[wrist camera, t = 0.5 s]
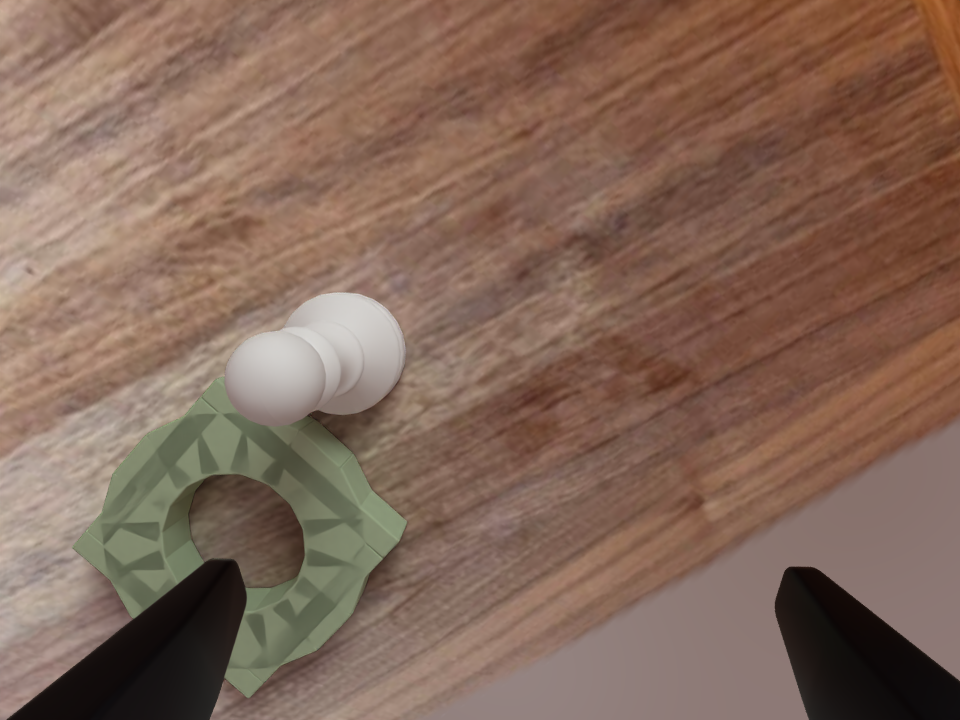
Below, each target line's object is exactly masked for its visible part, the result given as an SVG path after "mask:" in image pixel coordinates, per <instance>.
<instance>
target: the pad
mask: <svg viewBox="0 0 960 720" xmlns="http://www.w3.org/2000/svg"><path fill="white" fill-rule="evenodd" d="M224 381H225V376H224V377H221V378H218V379H215V381H214V382H213V383H212V384H211V385H210V386H209V388H208V389H207V390H206V391H205V392H204V393H203V395H202V397H200V398H199V399H198V400H197V401H196V402H195V404H194V405H193V406H192V407H191V408H190V409H189V411H188V412H187V413H186V414H185V415H184V416H183V417H181V418H179V419H177V420H175V421H173V422H170V423H168V424H166V425H164V426H162V427H160V428H158V429H156V430H154V431H151V432H149V433H148V434H147V435H145V436H144V437H143V438H142V440H141V441H140V442H139V443H138V444H137V446H136V447H135V448H134V449H133V450H132V451H131V453H130V454H129V455H128V456H127V457H126V459H125V460H124V461H123V462H122V463H121V464H120V466H119V467H118V468H117V469H116V470H115V472H114V473H113V474H112V478H111V481H110V485H109V488H108V492H107V496H106V499H105V503H104V506H103V510H102V513H101V514H100V515H99V516H98V517H97V518H96V520H95V521H94V522H93V523H92V524H91V525H90V527H89V528H88V529H87V531H85V533H84V534H83V535H82V536H81V537H80V538H79V540H78V541H77V542H76V543H75V544H74V545H73V547H72V548H73V549H74V550H75V551H76V552H78V553H79V554H80V555H81V556H82V557H83V558H85V559H86V560H87V561H88V562H89V563H90V564H92V565H93V566H94V567H95V568H96V569H97V570H99V571H100V572H101V573H102V574H103V575H104V576H106V577H107V578H108V579H109V580H110V581H111V582H112V584H113V586H114V588H115V590H116V591H117V593H118V595H119V597H120V599H121V600H122V602H123V604H124V606H125V608H126V609H127V611H128V613H129V615H130V617H132V618H133V619H134V618H135V617H137V616H138V615H139V614H140V613H142V612H143V611H144V610H145V609H147V608H148V607H149V606H150V605H152V604H153V603H154V602H155V601H157V600H158V599H159V598H161V597H162V596H163V595H164V594H166V593H167V592H168V591H169V590H171V589H172V588H173V587H174V586H176V585H177V584H178V583H179V582H181V581H182V580H183V579H185V578H186V577H187V576H188V575H190V574H191V573H192V572H193V571H195V570H196V569H197V568H198V567H200V566H201V565H202V564H203V563H204V562H203V560H202V558H201V556H200V554H199V552H198V551H197V549H196V547H195V545H194V543H193V541H192V539H191V535H190V526H189V517H188V513H189V510H190V507H191V503H192V500H193V497H194V494H195V490H196V489H197V488H198V487H199V486H200V485H201V483H202V482H203V481H204V480H205V479H206V478H208V477H210V476H212V475H243V476H246V477H248V478H251V479H254V480H256V481H259V482H262V483H265V484H267V485H269V486H270V487H271V488H272V489H273V490H274V491H275V492H277V493H278V494H279V495H280V496H281V497H282V498H283V499H284V500H286V501H287V502H288V503H289V504H290V506H291V508H292V510H293V512H294V513H295V515H296V517H297V519H298V521H299V523H300V525H301V527H302V529H303V538H304V550H305V557H304V560H303V563H302V566H301V569H300V572H299V574H298V575H297V576H296V577H295V578H294V579H291V580H289V581H287V582H284V583H282V584H280V585H277V586H275V587H273V588H246V587H245V588H246V592H247V603H246V608H245V611H244V614H243V618H242V621H241V624H240V628H239V631H238V634H237V638H236V641H235V644H234V647H233V651H232V654H231V657H230V661H229V664H228V667H227V670H226V674H225V677H224V678H225V679H226V680H227V681H228V682H230V683H231V684H232V685H233V686H234V687H235V688H237V689H238V690H239V691H240V692H241V693H242V694H244V695H245V696H246V697H247V698H250V697H251V696H252V695H253V694H254V693H255V692H256V691H257V690H258V689H259V688H260V687H261V686H262V685H263V684H264V682H266V681H267V680H268V679H269V677H270V676H271V675H272V674H273V673H274V672H275V671H276V670H277V669H278V668H279V667H280V666H281V665H284V664H286V663H289V662H291V661H293V660H296V659H298V658H301V657H303V656H306V655H308V654H310V653H313V652H315V651H317V650H318V649H320V648H321V647H322V646H323V645H324V643H325V642H326V641H327V640H328V639H329V638H330V637H331V636H332V635H333V634H334V633H335V632H336V631H337V630H338V629H339V628H340V627H341V626H342V625H343V624H344V623H345V622H346V621H347V620H348V619H349V618H350V617H351V615H352V614H353V612H354V610H355V608H356V606H357V604H358V602H359V599H360V597H361V595H362V593H363V591H364V589H365V586H366V583H367V581H368V578H369V575H370V572H371V571H372V570H373V569H374V568H375V567H376V566H377V565H378V564H379V563H380V562H381V561H382V560H383V558H384V557H385V556H386V555H387V554H388V553H389V552H390V551H391V550H392V549H393V548H394V547H395V546H396V545H397V544H398V543H399V541H400V539H401V536H402V534H403V532H404V529H405V527H406V525H407V521H406V520H405V519H404V518H402V517H401V516H400V515H399V514H398V513H397V512H396V511H395V510H394V509H392V508H391V507H390V506H389V505H388V504H387V503H386V502H385V501H383V500H382V499H381V498H380V497H379V496H378V495H377V494H376V493H374V492H373V491H372V490H371V487H370V485H369V483H368V481H367V479H366V477H365V475H364V473H363V471H362V469H361V467H360V465H359V463H358V461H357V459H356V457H355V455H354V454H353V453H352V452H351V451H350V450H349V449H348V448H347V447H346V446H345V445H344V444H342V443H341V442H340V441H339V440H338V439H337V438H336V437H335V436H333V435H332V434H331V433H330V432H329V431H328V430H327V429H326V428H325V427H323V426H322V425H321V424H320V423H319V422H318V421H317V420H315V419H314V418H311V417H308V416H306V417H304V418H303V419H301V420H299V421H297V422H295V423H292V424H290V425H284V426H277V427H273V426H265V425H260V424H257V423H255V422H252V421H250V420H248V419H247V418H245V417H244V416H243V415H241V414H240V413H239V412H238V411H237V410H236V409H235V408H234V406H233V405H232V404H231V402H230V400H229V398H228V396H227V393H226V388H225V384H224Z"/></svg>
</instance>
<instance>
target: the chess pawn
mask: <svg viewBox="0 0 960 720" xmlns="http://www.w3.org/2000/svg"><path fill="white" fill-rule="evenodd" d="M405 355H406V348H405V342H404V336H403V333H402V331H401V329H400V327H399V325H398V322H397V320H396V319H395V318H394V317H393V316H392V314H391V313H390V312H389V311H388V310H387V309H386V308H385V307H384V306H382V305H381V304H380V303H378V302H377V301H375V300H374V299H371V298H369V297H366V296H363V295H361V294H354V293H345V292H341V293H337V292H335V293H329V294H323V295H319V296H317V297H314V298H312V299H310V300H308V301H306V302H304V303H303V304H302V305H301V306H300V307H299V308H297V309H296V310H295V311H294V312H293V313H292V315H291V316H290V318H289V319H288V321H287V322H286V324H285V325H284V328H283V329H281V330H279V331H271V332H265V333H260V334H257V335H255V336H253V337H251V338H249V339H247V340H245V341H244V342H243V343H242V344H241V345H240V346H238V347H237V348H236V349H235V351H234V352H233V354H232V355H231V357H230V358H229V360H228V363H227V366H226V370H225V381H224V384H225V388H226V393H227V396H228V398H229V400H230V402H231V404H232V405H233V406H234V408H235V409H236V410H237V411H238V412H239V413H240V414H241V415H243V416H244V417H245V418H247V419H248V420H250V421H252V422H255V423H257V424H260V425H265V426H273V427H277V426H284V425H290V424H292V423H295V422H297V421H299V420H301V419H303V418H304V417H306V416H307V415H308V414H309V413H311V412H313V411H315V410H319V411H322V412H325V413H328V414H337V415H347V414H354V413H359V412H361V411H364V410H366V409H368V408H371V407H373V406H374V405H375V404H376V403H378V402H379V401H380V400H381V399H383V398H384V397H385V396H386V395H387V394H388V393H389V392H391V390H392V389H393V387H394V386H395V385H396V383H397V382H398V380H399V379H400V376H401V374H402V371H403V368H404V365H405Z"/></svg>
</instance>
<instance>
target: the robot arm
mask: <svg viewBox="0 0 960 720" xmlns="http://www.w3.org/2000/svg"><path fill="white" fill-rule="evenodd" d="M246 603H247V592H246V588H245V585H244V582H243V579H242V576H241V572H240V569H239V566H238V564H237V562H236V561H235V560H234V559H210V560H208V561H206V562H205V563H203V564H202V565H201V566H200V567H198V568H197V569H196V570H195V571H193V572H192V573H191V574H190V575H188V576H187V577H186V578H185V579H183V580H182V581H181V582H179V583H178V584H177V585H176V586H174V587H173V588H172V589H171V590H169V591H168V592H167V593H166V594H164V595H163V596H162V597H161V598H159V599H158V600H157V601H155V602H154V603H153V604H152V605H150V606H149V607H148V608H147V609H145V610H144V611H143V612H142V613H140V614H139V615H138V616H137V617H135V618H134V619H133V620H132V621H130V622H129V623H128V624H126V625H125V626H124V627H123V628H121V629H120V630H119V631H118V632H116V633H115V634H114V635H113V636H111V637H110V638H109V639H108V640H106V641H105V642H104V643H103V644H101V645H100V646H99V647H97V648H96V649H95V650H94V651H92V652H91V653H90V654H89V655H87V656H86V657H85V658H84V659H82V660H81V661H80V662H79V663H77V664H76V665H75V666H74V667H72V668H71V669H70V670H68V671H67V672H66V673H65V674H63V675H62V676H61V677H60V678H58V679H57V680H56V681H55V682H53V683H52V684H51V685H50V686H48V687H47V688H46V689H45V690H43V691H42V692H41V693H39V694H38V695H37V696H36V697H34V698H33V699H32V700H31V701H29V702H28V703H27V704H26V705H24V706H23V707H22V708H21V709H19V710H18V711H17V712H16V713H14V714H13V715H12V716H10V717H9V718H8V719H7V720H209V719H210V717H211V714H212V712H213V709H214V707H215V704H216V702H217V699H218V696H219V693H220V690H221V687H222V684H223V680H224V677H225V674H226V670H227V667H228V664H229V661H230V657H231V654H232V651H233V647H234V644H235V641H236V638H237V634H238V631H239V628H240V624H241V621H242V618H243V614H244V611H245V608H246ZM775 613H776V618H777V621H778V624H779V627H780V631H781V634H782V637H783V640H784V643H785V646H786V649H787V653H788V656H789V659H790V663H791V666H792V669H793V672H794V675H795V679H796V682H797V685H798V688H799V691H800V694H801V697H802V701H803V704H804V707H805V710H806V713H807V715H808V718H809V720H960V681H959V680H958V679H956V678H955V677H954V676H953V675H952V674H950V673H949V672H948V671H946V670H945V669H944V668H943V667H941V666H940V665H939V664H938V663H936V662H935V661H934V660H932V659H931V658H930V657H929V656H927V655H926V654H925V653H924V652H922V651H921V650H920V649H919V648H917V647H916V646H915V645H913V644H912V643H911V642H909V641H908V640H907V639H906V638H904V637H903V636H902V635H901V634H900V633H898V632H897V631H895V630H894V629H893V628H892V627H891V626H889V625H888V624H887V623H885V622H884V621H883V620H882V619H880V618H879V617H878V616H877V615H875V614H874V613H873V612H872V611H870V610H869V609H868V608H867V607H865V606H864V605H863V604H861V603H860V602H859V601H858V600H856V599H855V598H854V597H853V596H851V595H850V594H849V593H847V592H846V591H845V590H844V589H842V588H841V587H840V586H839V585H837V584H836V583H835V582H834V581H832V580H831V579H830V578H829V577H827V576H826V575H825V574H823V573H822V572H821V571H819V570H818V569H816V568H813V567H789V568H787V569H786V570H785V572H784V574H783V578H782V581H781V584H780V587H779V590H778V593H777V596H776V600H775Z"/></svg>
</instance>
